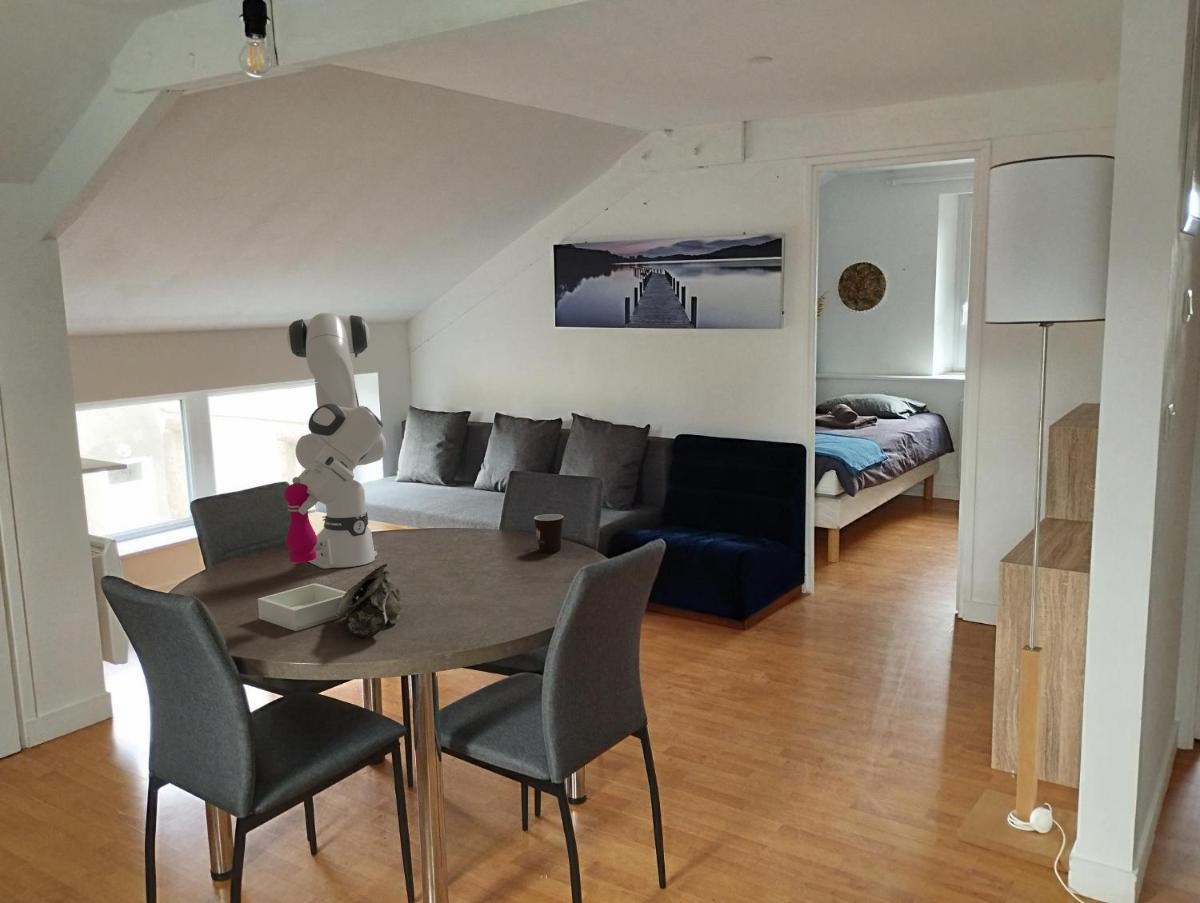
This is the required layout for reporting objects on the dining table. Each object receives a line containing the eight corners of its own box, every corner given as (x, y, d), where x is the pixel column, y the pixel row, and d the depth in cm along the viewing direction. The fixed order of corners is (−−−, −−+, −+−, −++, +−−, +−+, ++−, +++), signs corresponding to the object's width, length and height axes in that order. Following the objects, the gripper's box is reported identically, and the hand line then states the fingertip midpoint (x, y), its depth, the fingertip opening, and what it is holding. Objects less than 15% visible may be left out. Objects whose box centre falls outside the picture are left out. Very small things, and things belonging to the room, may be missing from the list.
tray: (259, 618, 242) (257, 598, 241) (316, 602, 253) (315, 583, 253) (296, 631, 231) (294, 610, 230) (354, 613, 243) (352, 593, 242)
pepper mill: (309, 563, 236) (302, 479, 233) (281, 562, 237) (274, 479, 234) (323, 555, 243) (317, 474, 240) (296, 555, 244) (289, 474, 241)
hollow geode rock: (364, 666, 220) (409, 618, 218) (319, 630, 218) (364, 580, 216) (387, 622, 248) (426, 578, 246) (347, 589, 246) (387, 545, 244)
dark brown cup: (563, 553, 294) (562, 520, 292) (534, 554, 294) (533, 520, 293) (565, 543, 306) (564, 511, 304) (537, 544, 306) (536, 512, 304)
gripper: (310, 452, 249) (273, 496, 245) (336, 462, 232) (298, 509, 228) (329, 468, 252) (293, 511, 248) (356, 478, 235) (319, 525, 231)
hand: (295, 510), depth 238 cm, fingers closed on pepper mill, 5 cm apart
